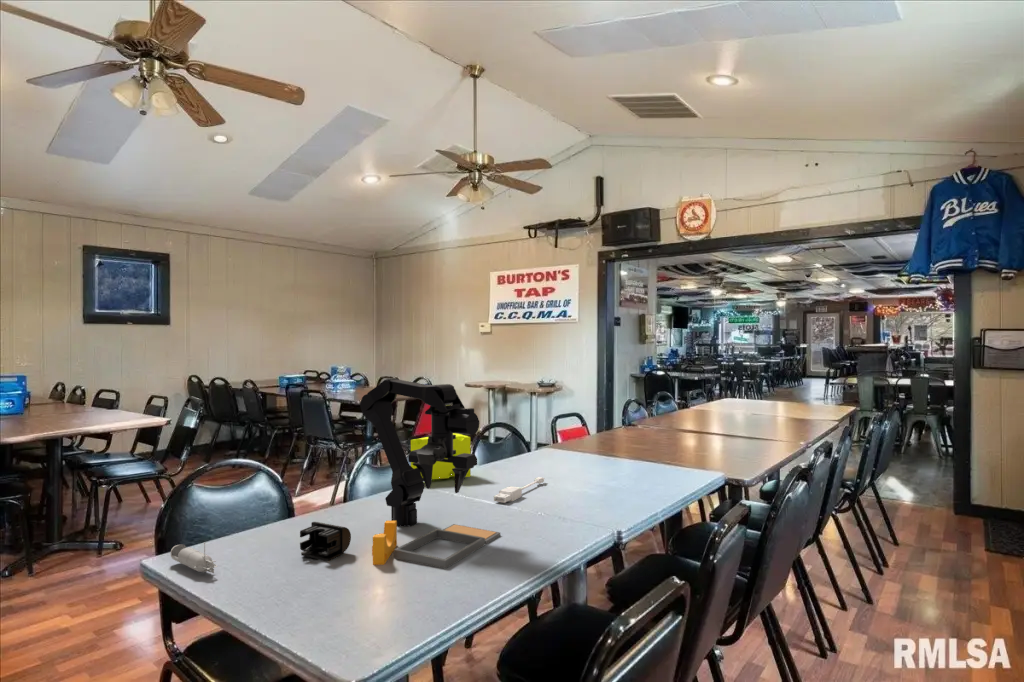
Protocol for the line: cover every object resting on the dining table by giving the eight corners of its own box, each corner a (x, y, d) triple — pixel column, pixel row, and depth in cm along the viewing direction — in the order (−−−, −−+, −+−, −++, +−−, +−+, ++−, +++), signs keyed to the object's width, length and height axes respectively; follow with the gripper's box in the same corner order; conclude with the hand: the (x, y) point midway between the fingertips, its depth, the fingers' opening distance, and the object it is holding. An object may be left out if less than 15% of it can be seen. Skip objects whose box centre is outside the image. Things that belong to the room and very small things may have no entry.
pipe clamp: (379, 546, 143) (379, 520, 143) (396, 546, 142) (396, 520, 142) (365, 565, 131) (365, 537, 131) (384, 565, 130) (383, 537, 130)
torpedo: (164, 561, 133) (164, 533, 133) (185, 555, 137) (185, 528, 137) (202, 580, 123) (202, 549, 123) (224, 572, 127) (224, 543, 127)
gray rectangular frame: (394, 558, 134) (394, 549, 134) (436, 536, 149) (436, 528, 149) (445, 569, 127) (445, 560, 127) (484, 545, 142) (484, 537, 142)
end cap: (351, 552, 139) (351, 524, 139) (329, 562, 132) (329, 533, 132) (321, 545, 143) (320, 518, 143) (298, 555, 137) (298, 526, 137)
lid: (438, 535, 150) (438, 531, 150) (453, 527, 156) (453, 523, 156) (486, 545, 143) (486, 540, 143) (500, 536, 149) (500, 531, 149)
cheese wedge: (464, 482, 205) (463, 441, 205) (410, 480, 209) (410, 439, 209) (476, 470, 224) (476, 432, 224) (427, 468, 228) (427, 431, 228)
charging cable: (548, 483, 205) (548, 474, 205) (505, 505, 178) (505, 495, 178) (536, 482, 207) (536, 473, 207) (492, 503, 180) (492, 493, 180)
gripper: (394, 433, 150) (395, 493, 150) (454, 439, 141) (454, 502, 141) (421, 427, 160) (421, 484, 160) (478, 432, 151) (478, 492, 151)
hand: (442, 490), depth 152 cm, fingers open, 9 cm apart
